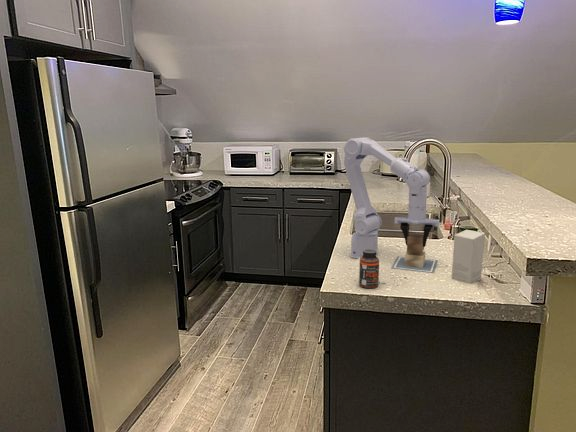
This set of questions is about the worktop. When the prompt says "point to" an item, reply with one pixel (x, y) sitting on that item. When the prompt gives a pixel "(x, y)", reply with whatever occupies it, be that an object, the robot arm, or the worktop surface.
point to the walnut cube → (415, 243)
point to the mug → (428, 189)
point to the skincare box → (468, 256)
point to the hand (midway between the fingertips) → (415, 245)
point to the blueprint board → (427, 267)
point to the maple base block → (415, 259)
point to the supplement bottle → (369, 269)
